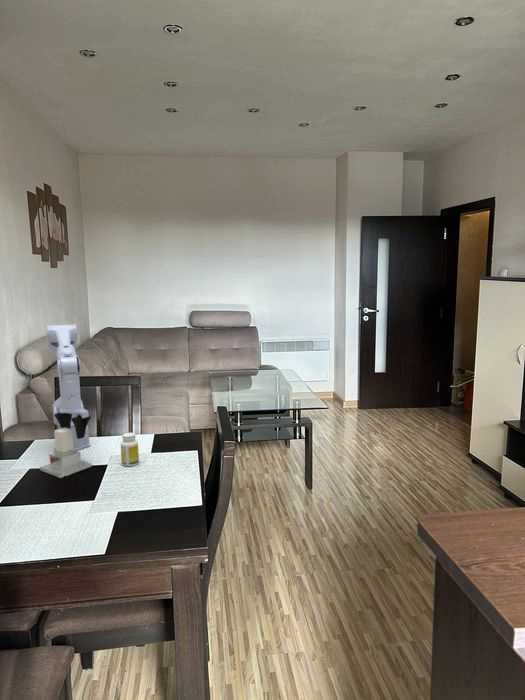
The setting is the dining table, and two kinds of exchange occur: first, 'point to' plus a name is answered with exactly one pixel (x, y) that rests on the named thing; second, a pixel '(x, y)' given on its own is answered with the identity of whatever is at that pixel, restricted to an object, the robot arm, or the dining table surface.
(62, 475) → the stand
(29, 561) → the dining table surface
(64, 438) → the rectangular block
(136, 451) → the supplement bottle
